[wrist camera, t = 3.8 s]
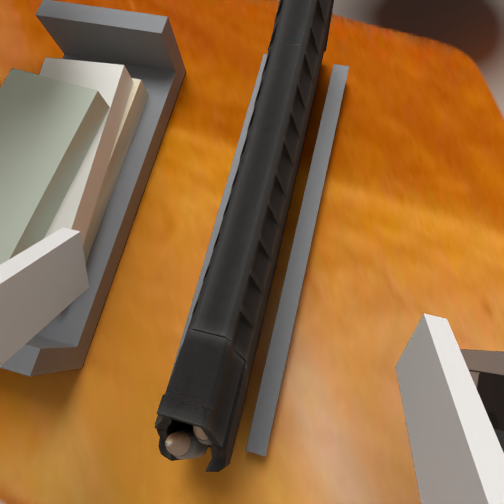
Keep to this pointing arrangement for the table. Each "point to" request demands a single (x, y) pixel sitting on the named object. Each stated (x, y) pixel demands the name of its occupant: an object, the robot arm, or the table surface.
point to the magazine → (245, 247)
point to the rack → (134, 182)
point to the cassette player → (488, 381)
